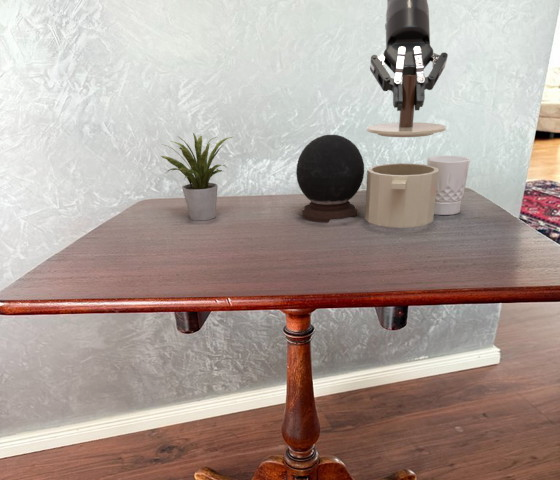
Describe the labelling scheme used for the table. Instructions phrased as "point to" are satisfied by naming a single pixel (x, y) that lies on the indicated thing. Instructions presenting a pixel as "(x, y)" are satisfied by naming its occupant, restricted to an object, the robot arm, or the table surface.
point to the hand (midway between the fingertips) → (409, 106)
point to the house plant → (198, 179)
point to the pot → (401, 195)
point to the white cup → (449, 183)
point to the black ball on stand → (330, 177)
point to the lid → (407, 116)
